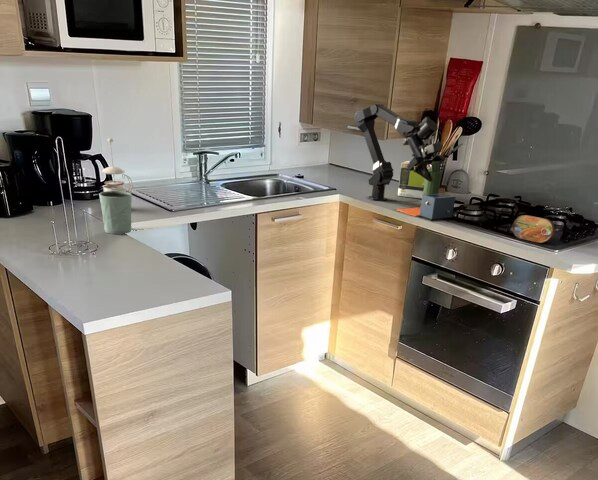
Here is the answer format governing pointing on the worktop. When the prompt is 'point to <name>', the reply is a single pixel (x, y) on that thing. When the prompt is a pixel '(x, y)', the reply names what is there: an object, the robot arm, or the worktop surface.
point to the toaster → (437, 206)
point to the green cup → (116, 211)
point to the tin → (533, 228)
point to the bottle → (433, 179)
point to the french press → (113, 171)
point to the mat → (411, 211)
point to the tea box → (410, 182)
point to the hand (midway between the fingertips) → (435, 180)
